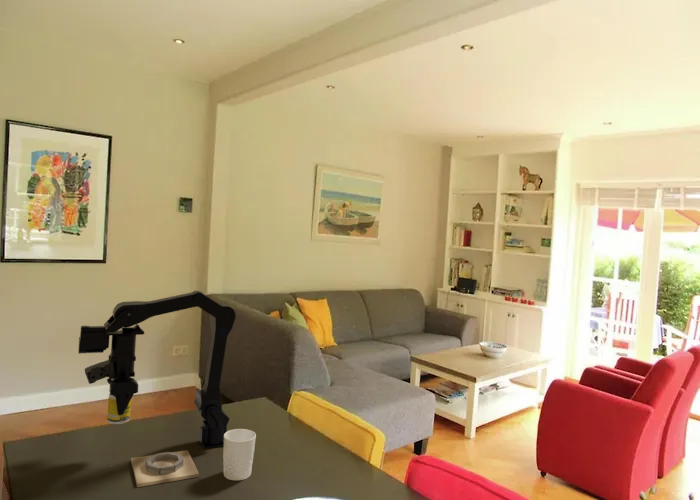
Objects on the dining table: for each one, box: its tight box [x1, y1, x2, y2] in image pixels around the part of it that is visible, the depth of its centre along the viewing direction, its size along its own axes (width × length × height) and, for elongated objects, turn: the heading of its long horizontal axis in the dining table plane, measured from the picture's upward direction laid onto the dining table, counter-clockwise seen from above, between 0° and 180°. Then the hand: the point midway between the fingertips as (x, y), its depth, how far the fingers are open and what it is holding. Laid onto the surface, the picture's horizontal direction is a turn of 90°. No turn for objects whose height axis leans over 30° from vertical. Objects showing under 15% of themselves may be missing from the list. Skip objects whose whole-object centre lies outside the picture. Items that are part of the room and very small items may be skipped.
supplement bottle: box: [106, 393, 132, 425], centre depth 128 cm, size 5×5×10 cm
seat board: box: [130, 449, 200, 488], centre depth 124 cm, size 14×14×2 cm
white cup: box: [222, 428, 257, 481], centre depth 124 cm, size 8×8×10 cm
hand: (119, 411), depth 128 cm, fingers closed on supplement bottle, 5 cm apart
